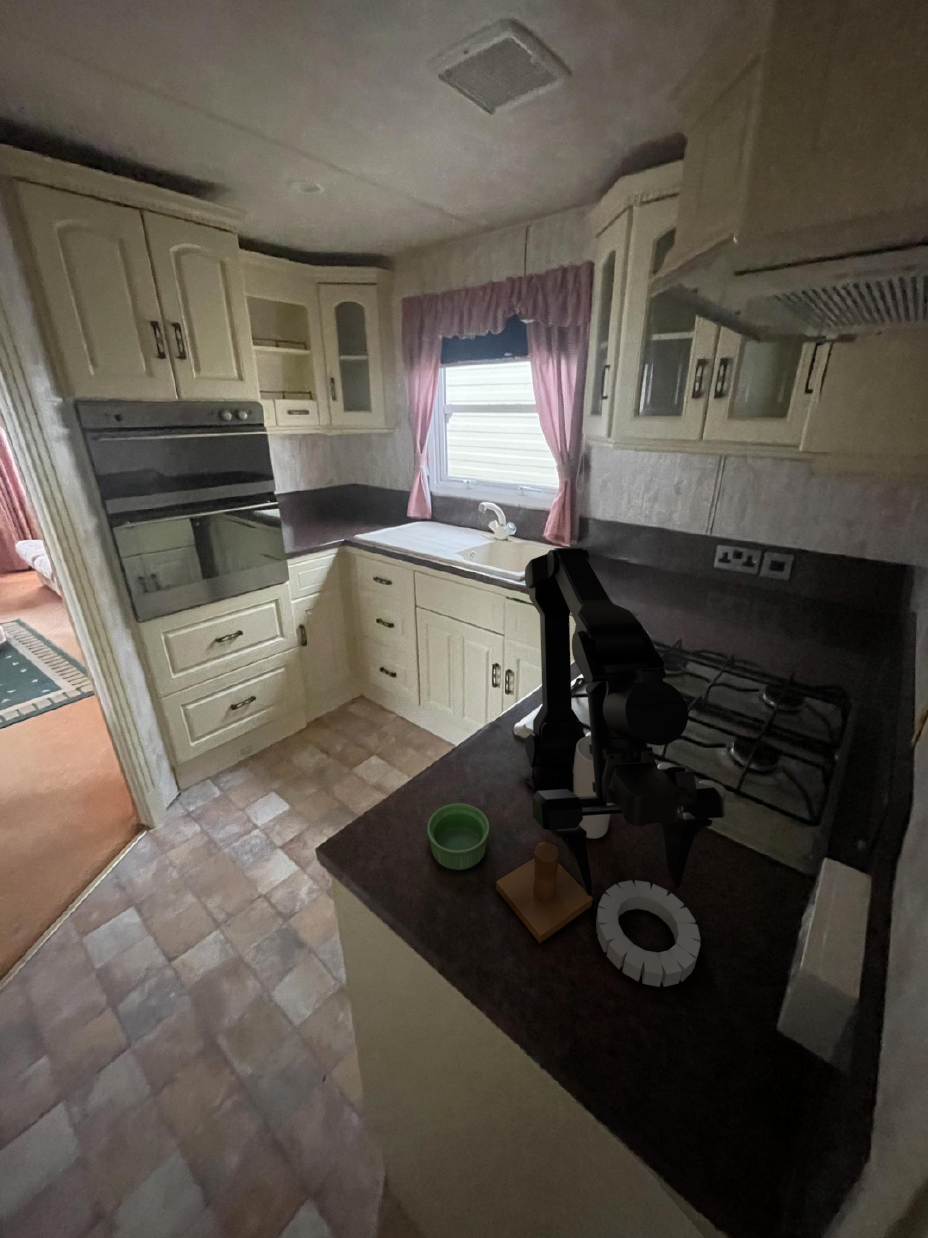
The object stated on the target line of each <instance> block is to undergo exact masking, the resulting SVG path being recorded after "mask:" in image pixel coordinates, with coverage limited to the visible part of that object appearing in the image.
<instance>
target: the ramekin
mask: <svg viewBox="0 0 928 1238" xmlns="http://www.w3.org/2000/svg"><path fill="white" fill-rule="evenodd" d="M426 830H427V831H426V832H427V836H428V839H429V843H430V847H431V848H430V849H431V852H432V853H431V854H432V856H433V857H434V859H435V860H436V862H437V863H439V865H441V866H442V867H444V868H447V869H451V870H455V871H463V870H467V869H470V868H472V867H474V866H476V865H477V864H478V863H480V861H481V860H482V859H483V858H484V856H485V853H486V850H487V842H488V838H489V834H490V822H489V819H488V817H487V816H486V815H485V813H484V812H482V811H481V810H480V809H479V808H477V807H475V806H473V805H471V804H467V803H460V802H459V803H450V804H447V805H444V806H442V807H440V808H438V809H437V810H436V811H434V812H433V813H432V815H431V816H430V817H429V820H428V822H427V826H426Z"/></svg>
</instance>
